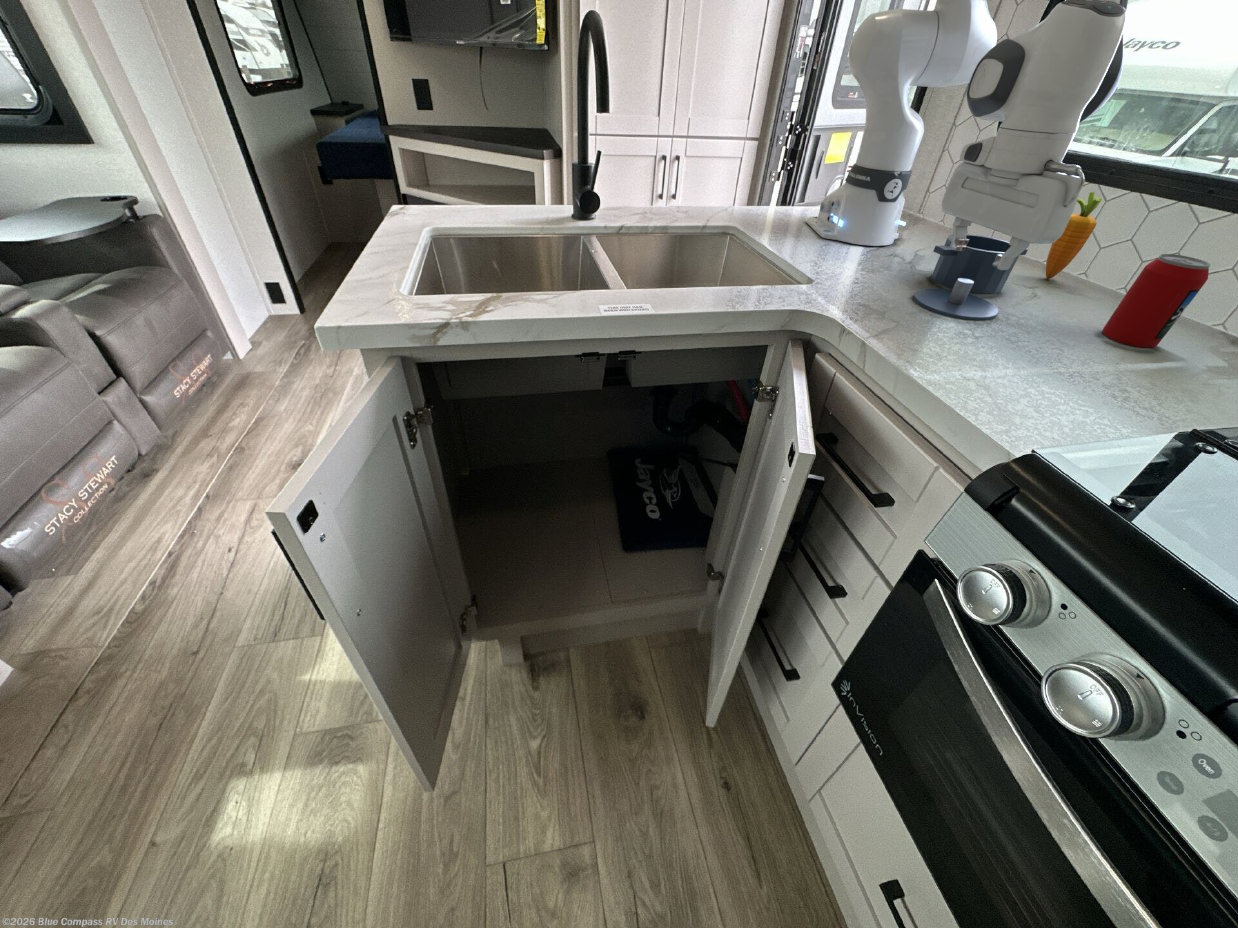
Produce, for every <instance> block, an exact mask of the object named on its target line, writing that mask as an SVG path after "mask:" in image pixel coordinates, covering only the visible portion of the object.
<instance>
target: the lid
mask: <svg viewBox="0 0 1238 928" xmlns="http://www.w3.org/2000/svg"><path fill="white" fill-rule="evenodd" d="M973 284H974V282H973V281H972V280H969V279H965V278H958V279H957V281H956V283H955V285H954V287H953V289H948V288H947V289H945V288H923V289H919V290H917V291H916V292H914V296H913V300H914V301H915V303H916V304H918V305H919V306H920V307H922V308H924V309H926V310H929V311H931V312H933V313H937V314H939V315H943V316H947V317H950V318H956V319H961V320H967V321H968V320H969V321H987V320H992V319H995V318H996V317H997V316H998V314H999V308H998V307H997V306H996V305H995V304H994V303H992V302H990V301H989V300H986V299H985V298H982V297H980V296H977V295H975V294H972V293H969V292H970V290H971V288H972V286H973Z"/></svg>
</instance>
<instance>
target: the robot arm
mask: <svg viewBox="0 0 1238 928" xmlns="http://www.w3.org/2000/svg"><path fill="white" fill-rule="evenodd" d="M1128 2H1129V0H1063V1H1061V2H1059V3H1058V4H1056V6H1054V7H1053V9H1052V10H1051V11H1050V13H1049V14H1048V15H1047V16H1046V17H1045V18H1044V20H1042V21H1041V22H1040V23H1038V24H1036V25H1035V26H1034V27H1032V28H1030V29H1028V30H1026V31H1024V32H1022V33H1020V34H1018V35H1015V36H1013V37H1011V38H1004V39H1002V40H1001V41H999V42H998V43H997V41H998V30H997V26H996V23H995V21H994V20H993V18H992V16H991V13H990V10H989V6H988V0H936V1H935V5H934V8H933V10H927V9H926V10H925V9H909V8H908V9H907V8H894V9H893V8H892V9H888V10H883V11H878V12H873V13H871V14H869V15H868V16H866V18H865V19H864V20H863V21H862V22H861V23H860V24H859V26H858V28H857V29H856V30H855V33H854V34H853V37H852V39H851V42H850V45H849V49H848V66H849V70H850V73H851V74H852V77H853V78H854V79H855V80H856V82H857V84H858V86H859V88H860V90H861V92H862V95H863V98H864V99H863V100H864V102H865V122H864V128H863V133H862V137H861V141H860V146H859V149H858V154H857V158H856V160H855V163H854V164H852V165H848V166H847V168H850V169H848V170H846V172H847V173H848V174H847V175H846V178H845V179H844V183H843V184H842V185H840V186H839V187H837V188H836V189H835V190H833V191H832V192H831V193H829V194H827V195H826V196H825V197H824V198H823V200H822V201H821V203H820V207H819V212H818V215H817V216H810V217H807V219H806V221H805V223H806V224H808V226H810V227H811V228H812V229H813V231H814V232H816V234H818V235H819V236H820V237H821V238H823V239H827V240H833V241H839V242H844V243H848V244H854V245H860V246H869V247H870V246H871V247H884V246H891V245H892V244H894V241H895V240H898V239H899V236H900V233H899V232H897V231H898V229H899V228H898V227H899V225H901V226H903V227H905V226H906V224H907V222H905V221H903V220H901V217H902V214H903V209H904V205H905V203H906V200H905V196H904V191H905V190H907V189H908V185H909V184H910V182H911V178H912V173H913V170H912V167H913V165H914V162H915V159H916V156H917V153H918V150H919V147H920V144H921V142H922V139H923V137H924V132H925V124H924V120H923V118H922V117H921V115H920V114H919V113H918V112H917V111H915V109H913V108H912V107H910V104H909V90H910V87H927V88H943V89H944V88H949V87H957V86H960V85H965V84H968V86H967V90H966V101H967V102H966V103H967V106H968V109H969V111H970V113H971V114H972V116H973V117H975V118H978V119H981V120H983V121H991V122H1001V124H999V127H998V129H997V132H996V134H995V136H990V137H987V138H984V139H981V140H978V141H974V142H969V143H967V144H965V145H964V146H963V148H962V149H961V152H960V155H959V160H960V161H961V163H959V165H957V166H956V168H954V171H953V173H952V175H951V177H950V179H949V182H948V184H947V186H946V189H945V192H944V194H943V198H942V200H941V211H942V213H944V214H947V215H950V216H953V217H954V220H953V222H952V235H953V240H952V242H951V245H950V249H952V250H955V251H964V250H965V248H966V245H967V244H968V242H969V239H966V235H967V234H968V227H971V226H972V224H975V225H978V226H981V227H983V228H986V229H989V230H993V231H995V232H998V233H1001V234H1003V235H1006V236H1009V237H1010V240H1009V241H1008V242H1009V245H1012V246H1011V247H1010V248H1009V249H1008V250H1007V251H1006V252H1005V253H1004V254H1003V255H997V256H996V258H995V261H994V262H993V264H992V266H993V267H995V268H997V269H999V270H1008V269H1009V268H1010V266H1011V264H1012V262H1013V260H1014V258H1016V257H1017V256H1018V255H1019V256H1021V255H1020V254H1021V253H1022V252H1023V251H1024V250H1026V249H1029V247H1030V245H1031V244H1032V245H1052V243H1053V242H1055V241H1056V240H1058V239H1059V238H1060V237H1061V236H1062V234H1063V232H1064V230H1065V228H1066V226H1067V224H1068V222H1069V220H1070V217H1071V215H1073V214H1074V213H1073V212H1074V210H1075V207H1076V205H1077V203H1078V202H1077V200H1078V199H1079V194H1080V193H1081V191H1082V189H1083V187H1084V185H1085V183H1086V178H1085V175H1084V172H1083V171H1082V167H1081V166H1080V165H1078V164H1077V165H1076V164H1068V163H1064V162H1063V160H1064V158H1065V156H1066V154H1067V152H1068V150H1069V148H1070V146H1071V144H1072V142H1073V140H1074V138H1075V136H1076V134H1077V132H1078V129H1079V126H1080V124H1081V123H1083V122H1084V121H1085V120H1087V119H1089V118H1090V117H1091V116H1093V115H1094V114H1095V113H1096V112H1098V111H1099V110H1100V109H1101V108H1102V107H1103V106H1104V105H1105V104H1106V103H1107V102H1108V101H1110V99H1111V98H1112V96H1113V94H1114V93H1115V92H1116V90H1117V88H1118V87H1119V83H1120V80H1121V79H1122V74H1123V70H1124V57H1125V56H1124V55H1125V54H1124V30H1125V27H1126V23H1127V21H1128V20H1127V19H1128V10H1127V8H1128Z"/></svg>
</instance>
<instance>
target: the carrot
mask: <svg viewBox="0 0 1238 928" xmlns="http://www.w3.org/2000/svg"><path fill="white" fill-rule="evenodd" d="M1095 197H1096V192H1095V191H1091V192H1089V193H1088V197H1087V198H1088V199H1087V203H1085V201H1084V200H1083V199H1082V198H1078V199H1077V202H1076V203H1078V204H1079V207H1080V213H1079V214H1072V215H1071V217H1070V220H1069V222H1068V224H1067V226H1066V228H1065V230H1064V232H1063V234H1062V236H1061V237H1060V238H1059V239H1058V240H1056V241H1055V242H1053V243H1052V244H1050V245H1051V246H1050V249H1049V251H1048V255H1047V258H1046V263H1045V277H1046V279H1047V280H1050V279H1052V278H1054V277H1055V276H1057V275H1058V274H1060V273H1061V272H1062V271H1063V270H1064V269H1065V268H1066V267H1067V266H1068V265H1070V264H1071V262H1072V261H1073V260H1074V259H1075V258H1076V256H1077V255H1078V254H1079V252H1080V251H1081V250H1082V248H1083V247H1084V246H1085V244H1086V243H1087V241H1088V240H1089V238H1090V236H1091V235H1092V233H1093V231H1094V230H1095V229H1096V226H1097V224H1098V223H1097V220H1096V219H1095V218H1094V217H1093V216H1091V215H1090V214H1092V213H1093V211H1095V209H1096V208H1097V207H1098V206H1099V205H1100V203H1101V202H1102V200H1103V199H1102V197H1097V198H1095Z"/></svg>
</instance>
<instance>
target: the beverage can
mask: <svg viewBox="0 0 1238 928" xmlns="http://www.w3.org/2000/svg"><path fill="white" fill-rule="evenodd" d="M1210 267H1211V263H1209V262H1207V261H1206V260H1202V259H1199V258H1196V257H1192V256H1188V255H1187V256H1186V255H1182V254H1173V253H1161V254H1160V255H1159V256H1157V258H1155V259H1153V260H1152V261H1151V262H1149V263H1148V264H1146V265H1145V266H1144V267H1143V269H1142V270H1141V272H1140V273H1139V274H1138V276H1137V278H1136V279H1135V280H1134V282H1133V283H1132V285H1131V286H1130V288H1129V289H1128V290H1127V292H1126V294H1125V295H1124V296H1123V298H1122V300H1121V301H1120V302H1119V304H1118V305H1117V307H1116V309H1115V310H1114V312H1113V313H1112V314H1111V315H1110V317H1109V319H1108V320H1107V322H1106V324H1105V325H1104V326H1103V328H1102V333H1103V335H1104V336H1105V337H1107V338H1109V339H1110V340H1112V341H1114V342H1117V343H1120V344H1123V345H1127V346H1131V347H1136V348H1143V349H1144V348H1145V349H1149V348H1154V347H1157V346H1158V345H1159V344H1160V342H1161V341H1162V340H1163V339H1164V338H1165V336H1166V335H1167V334H1168V333H1169V331H1170V330H1171V329H1172V327H1173V326H1174V325H1175V324H1176V322H1177V321H1178V320H1179V318H1180V317H1181V315H1182V314H1183V313H1184V312H1185V310H1186V309H1187V308H1188V307H1189V305H1190V304H1191V303H1192V301H1193V300H1194V298H1195V297H1196V296H1197V295H1198V293H1199V292H1200V291H1201V289H1202V288H1203V286H1204V285H1205V284H1206V283H1207V281H1208V280H1209V273H1210V272H1209V271H1210V269H1209V268H1210Z"/></svg>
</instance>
